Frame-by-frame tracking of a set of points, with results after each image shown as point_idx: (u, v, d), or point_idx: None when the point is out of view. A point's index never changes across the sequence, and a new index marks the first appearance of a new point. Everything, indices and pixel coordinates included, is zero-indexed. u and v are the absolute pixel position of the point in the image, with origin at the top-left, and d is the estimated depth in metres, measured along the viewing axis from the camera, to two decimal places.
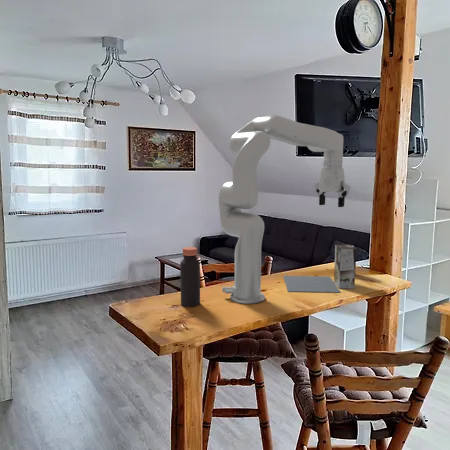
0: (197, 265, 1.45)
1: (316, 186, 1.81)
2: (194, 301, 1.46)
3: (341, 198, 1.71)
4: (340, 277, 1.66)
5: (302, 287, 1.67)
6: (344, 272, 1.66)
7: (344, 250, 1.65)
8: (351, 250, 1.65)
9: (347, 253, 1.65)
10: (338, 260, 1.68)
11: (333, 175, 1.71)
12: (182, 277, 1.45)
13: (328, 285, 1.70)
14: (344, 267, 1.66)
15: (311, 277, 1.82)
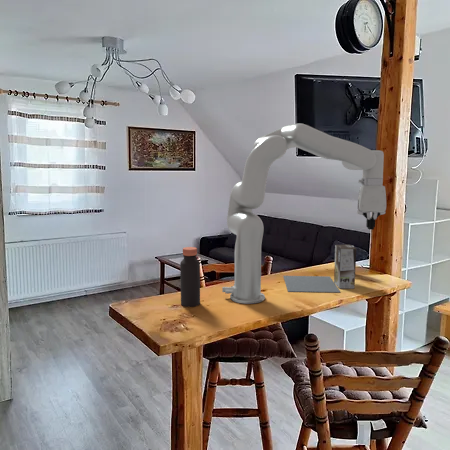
0: (197, 265, 1.45)
1: (360, 212, 1.66)
2: (194, 301, 1.46)
3: (374, 220, 1.66)
4: (340, 277, 1.66)
5: (302, 287, 1.67)
6: (344, 272, 1.66)
7: (344, 250, 1.65)
8: (351, 250, 1.65)
9: (347, 253, 1.65)
10: (338, 260, 1.68)
11: (380, 194, 1.63)
12: (182, 277, 1.45)
13: (328, 285, 1.70)
14: (344, 267, 1.66)
15: (311, 277, 1.82)
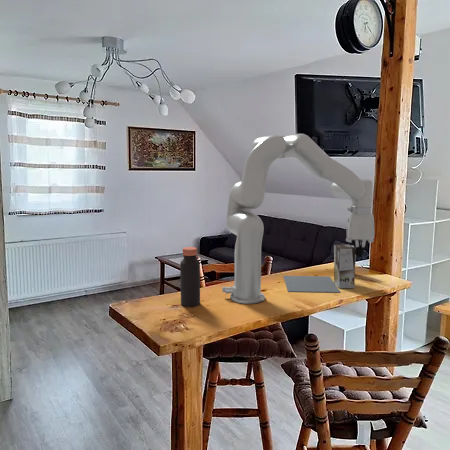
0: (197, 265, 1.45)
1: (348, 240, 1.68)
2: (194, 301, 1.46)
3: (362, 248, 1.68)
4: (340, 277, 1.66)
5: (302, 287, 1.67)
6: (344, 272, 1.66)
7: (343, 250, 1.65)
8: (350, 250, 1.65)
9: (346, 253, 1.65)
10: (337, 260, 1.68)
11: (369, 222, 1.64)
12: (182, 277, 1.45)
13: (328, 285, 1.70)
14: (343, 267, 1.66)
15: (311, 277, 1.82)
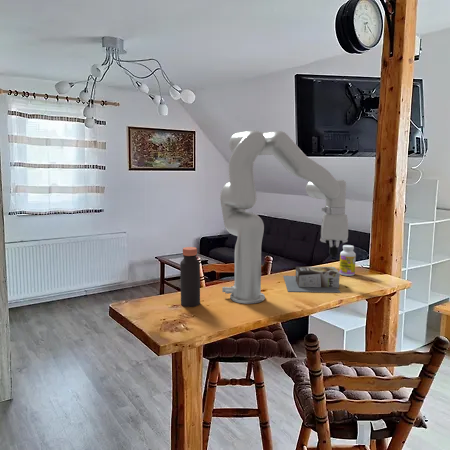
0: (197, 265, 1.45)
1: (322, 240, 1.69)
2: (194, 301, 1.46)
3: (336, 248, 1.68)
4: (327, 286, 1.67)
5: (302, 287, 1.67)
6: (322, 283, 1.67)
7: (300, 283, 1.67)
8: (300, 276, 1.67)
9: (303, 280, 1.67)
10: None
11: (342, 222, 1.65)
12: (182, 277, 1.45)
13: None
14: (317, 283, 1.67)
15: None
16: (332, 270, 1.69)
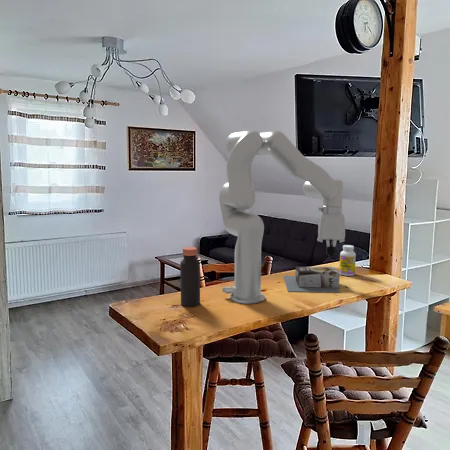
0: (197, 265, 1.45)
1: (320, 239, 1.69)
2: (194, 301, 1.46)
3: (333, 247, 1.69)
4: (327, 286, 1.67)
5: (302, 287, 1.67)
6: (322, 283, 1.67)
7: (300, 283, 1.67)
8: (300, 276, 1.67)
9: (303, 280, 1.67)
10: None
11: (339, 222, 1.65)
12: (182, 277, 1.45)
13: None
14: (317, 283, 1.67)
15: None
16: (332, 270, 1.69)
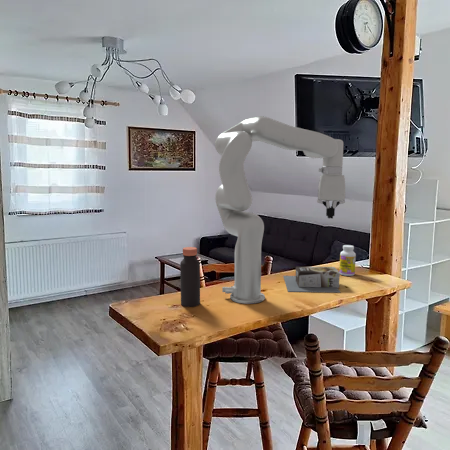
0: (197, 265, 1.45)
1: (319, 201, 1.67)
2: (194, 301, 1.46)
3: (333, 209, 1.67)
4: (327, 286, 1.67)
5: (302, 287, 1.67)
6: (322, 283, 1.67)
7: (300, 283, 1.67)
8: (300, 276, 1.67)
9: (303, 280, 1.67)
10: None
11: (339, 183, 1.63)
12: (182, 277, 1.45)
13: None
14: (317, 283, 1.67)
15: None
16: (332, 270, 1.69)
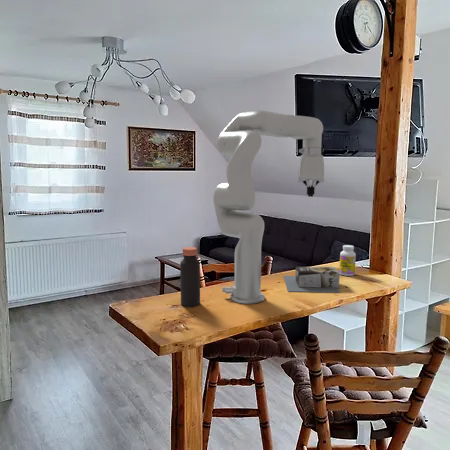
0: (197, 265, 1.45)
1: (300, 180, 1.76)
2: (194, 301, 1.46)
3: (313, 188, 1.76)
4: (327, 286, 1.67)
5: (302, 287, 1.67)
6: (322, 283, 1.67)
7: (300, 283, 1.67)
8: (300, 276, 1.67)
9: (303, 280, 1.67)
10: None
11: (318, 162, 1.73)
12: (182, 277, 1.45)
13: None
14: (317, 283, 1.67)
15: None
16: (332, 270, 1.69)
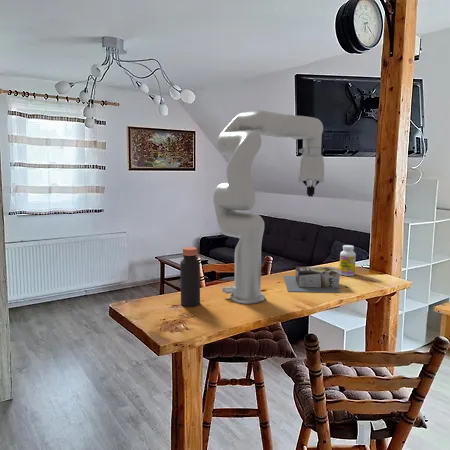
0: (197, 265, 1.45)
1: (300, 180, 1.76)
2: (194, 301, 1.46)
3: (313, 188, 1.76)
4: (327, 286, 1.67)
5: (302, 287, 1.67)
6: (322, 283, 1.67)
7: (300, 283, 1.67)
8: (300, 276, 1.67)
9: (303, 280, 1.67)
10: None
11: (318, 162, 1.73)
12: (182, 277, 1.45)
13: None
14: (317, 283, 1.67)
15: None
16: (332, 270, 1.69)
